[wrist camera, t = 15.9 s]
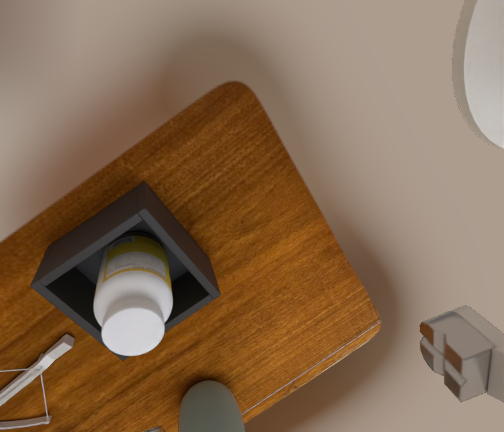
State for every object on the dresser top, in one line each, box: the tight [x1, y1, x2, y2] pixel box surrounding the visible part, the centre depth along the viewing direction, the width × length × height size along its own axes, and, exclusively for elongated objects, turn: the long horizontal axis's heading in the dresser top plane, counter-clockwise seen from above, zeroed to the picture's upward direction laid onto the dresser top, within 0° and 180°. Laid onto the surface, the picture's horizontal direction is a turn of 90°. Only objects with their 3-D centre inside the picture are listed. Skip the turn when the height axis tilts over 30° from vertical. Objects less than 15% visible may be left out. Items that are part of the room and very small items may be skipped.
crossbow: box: [0, 334, 74, 430], centre depth 42 cm, size 16×13×2 cm
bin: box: [30, 181, 221, 361], centre depth 37 cm, size 12×12×7 cm
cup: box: [178, 380, 246, 432], centre depth 47 cm, size 8×8×10 cm
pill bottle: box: [93, 232, 173, 356], centre depth 34 cm, size 6×6×12 cm
